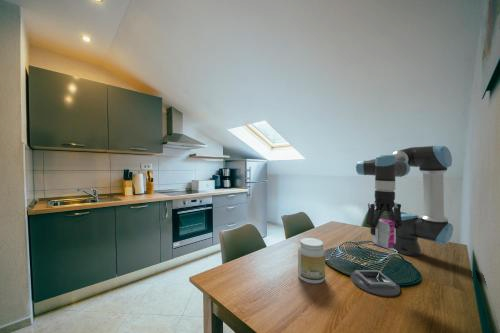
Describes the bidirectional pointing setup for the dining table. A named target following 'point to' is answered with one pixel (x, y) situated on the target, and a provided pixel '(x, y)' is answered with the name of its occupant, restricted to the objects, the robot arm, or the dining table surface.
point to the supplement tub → (311, 260)
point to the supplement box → (385, 233)
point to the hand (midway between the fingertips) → (383, 242)
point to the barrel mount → (375, 283)
